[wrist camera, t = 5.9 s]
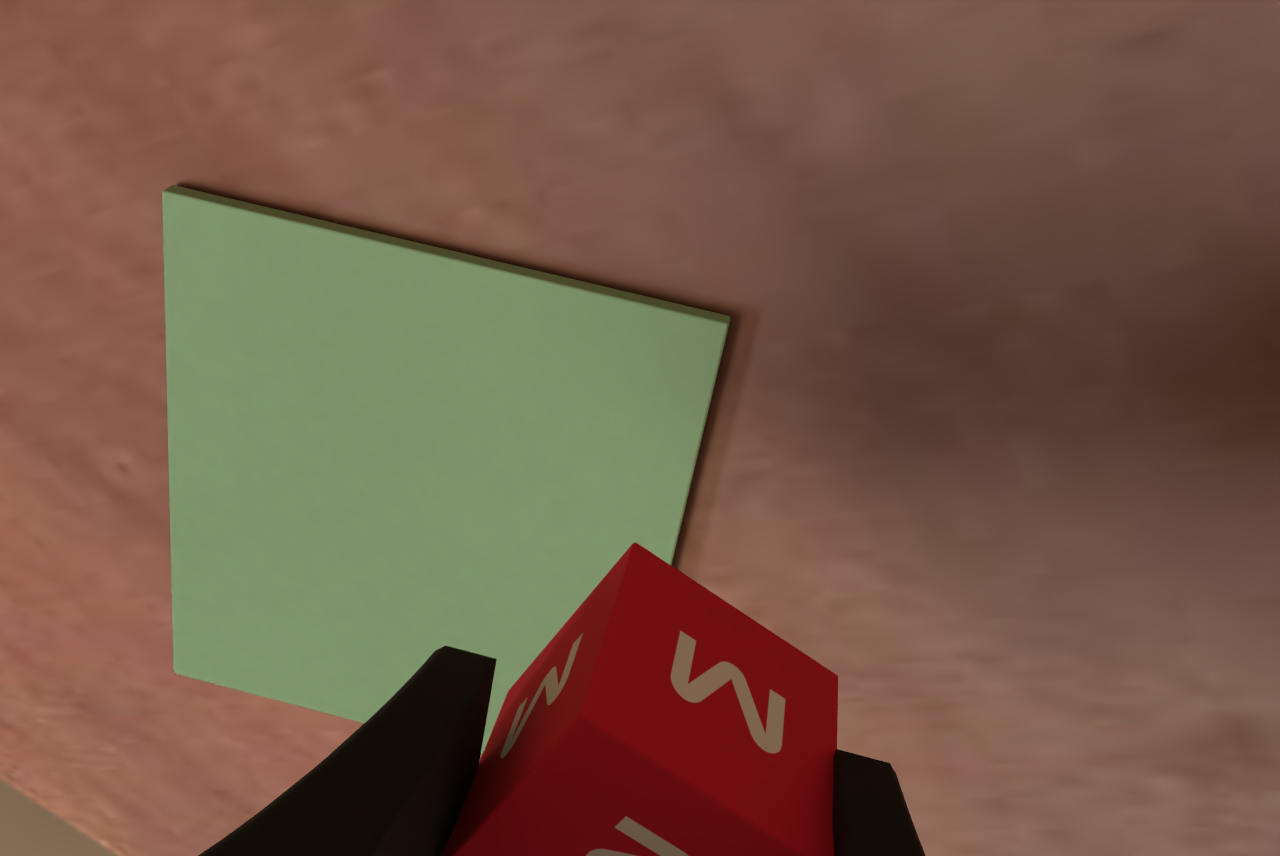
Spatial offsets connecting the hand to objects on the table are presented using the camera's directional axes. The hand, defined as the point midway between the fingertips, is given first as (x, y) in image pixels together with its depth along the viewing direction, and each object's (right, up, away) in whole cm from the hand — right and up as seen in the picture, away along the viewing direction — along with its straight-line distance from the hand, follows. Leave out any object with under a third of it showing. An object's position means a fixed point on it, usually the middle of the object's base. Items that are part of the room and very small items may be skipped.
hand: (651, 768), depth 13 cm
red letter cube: (0, +1, +1) cm, 2 cm away
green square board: (-4, +2, +9) cm, 10 cm away
